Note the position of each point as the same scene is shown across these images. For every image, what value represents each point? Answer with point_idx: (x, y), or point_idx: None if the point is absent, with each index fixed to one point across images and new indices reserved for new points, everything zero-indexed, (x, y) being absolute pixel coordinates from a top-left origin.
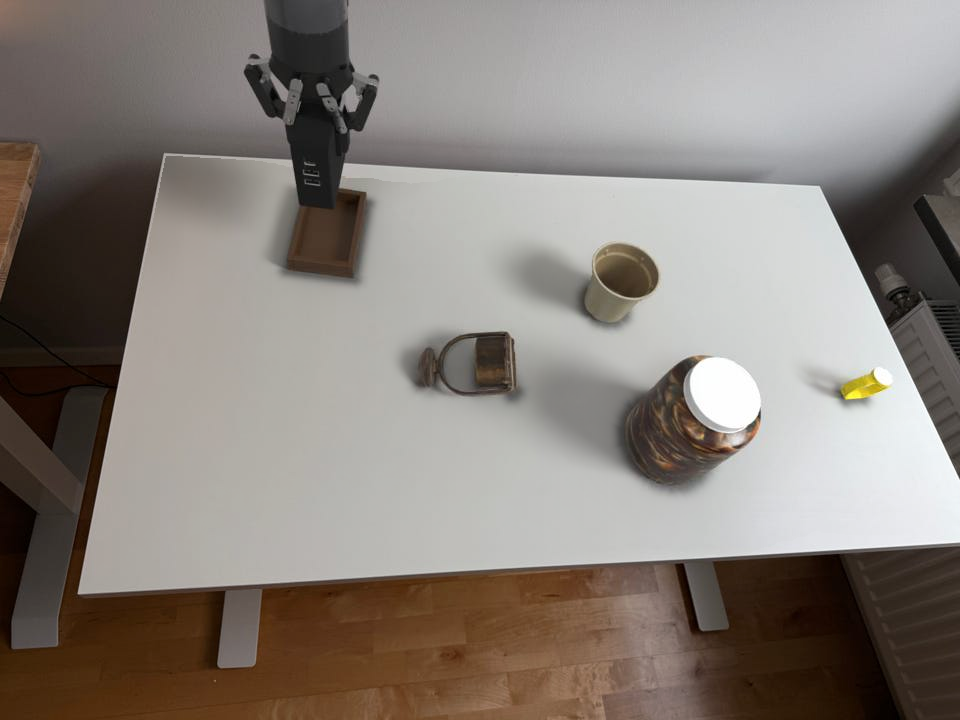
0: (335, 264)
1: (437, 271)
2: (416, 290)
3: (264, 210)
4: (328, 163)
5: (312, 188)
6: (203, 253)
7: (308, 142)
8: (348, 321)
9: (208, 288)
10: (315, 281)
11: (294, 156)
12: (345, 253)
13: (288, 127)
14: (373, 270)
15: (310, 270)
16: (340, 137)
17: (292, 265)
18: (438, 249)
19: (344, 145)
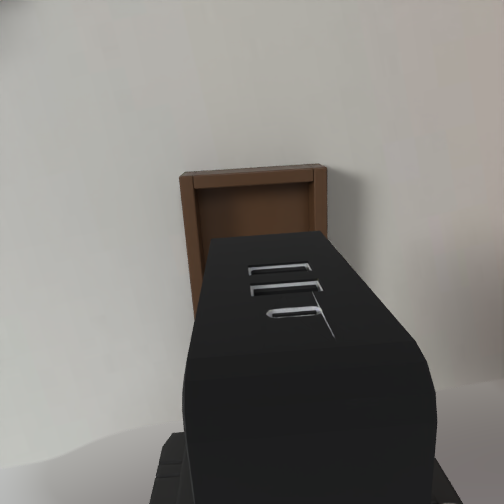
0: (218, 175)
1: (15, 230)
2: (44, 170)
3: (394, 298)
4: (194, 328)
5: (277, 257)
6: (492, 167)
7: (319, 413)
8: (165, 53)
9: (469, 79)
10: (259, 146)
11: (380, 321)
12: (213, 228)
13: (438, 489)
14: (148, 202)
15: (274, 167)
16: (178, 499)
17: (312, 165)
18: (30, 286)
19: (175, 463)
